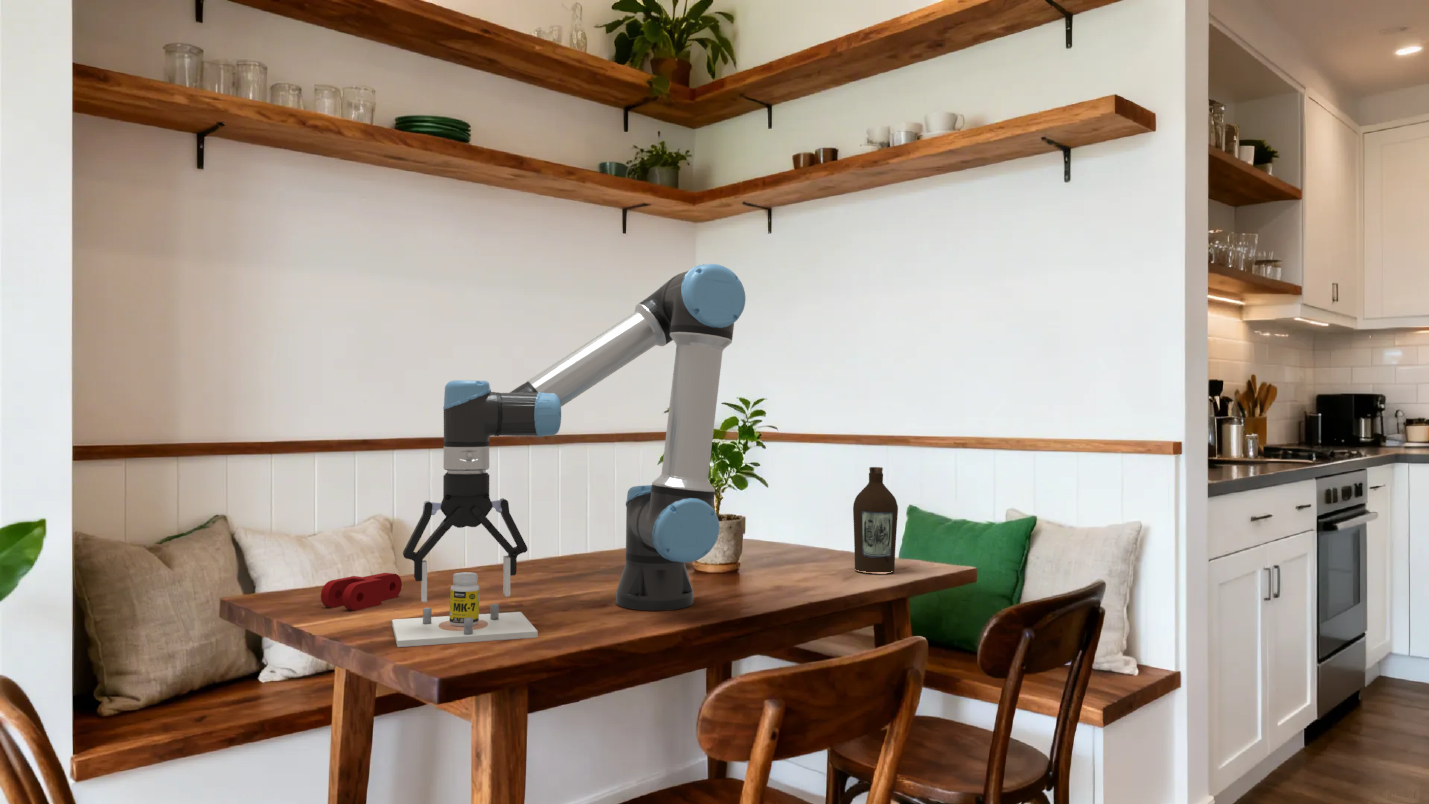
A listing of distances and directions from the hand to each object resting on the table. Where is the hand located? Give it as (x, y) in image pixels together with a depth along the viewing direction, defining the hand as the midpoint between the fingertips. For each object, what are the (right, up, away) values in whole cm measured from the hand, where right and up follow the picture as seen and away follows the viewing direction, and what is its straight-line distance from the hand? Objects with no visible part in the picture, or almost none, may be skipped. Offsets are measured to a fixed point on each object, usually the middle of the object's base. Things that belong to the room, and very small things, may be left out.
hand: (465, 597), depth 161 cm
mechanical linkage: (-25, -6, +22) cm, 34 cm away
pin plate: (0, -6, 0) cm, 6 cm away
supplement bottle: (0, -5, 0) cm, 5 cm away
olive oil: (+80, -8, +68) cm, 105 cm away
